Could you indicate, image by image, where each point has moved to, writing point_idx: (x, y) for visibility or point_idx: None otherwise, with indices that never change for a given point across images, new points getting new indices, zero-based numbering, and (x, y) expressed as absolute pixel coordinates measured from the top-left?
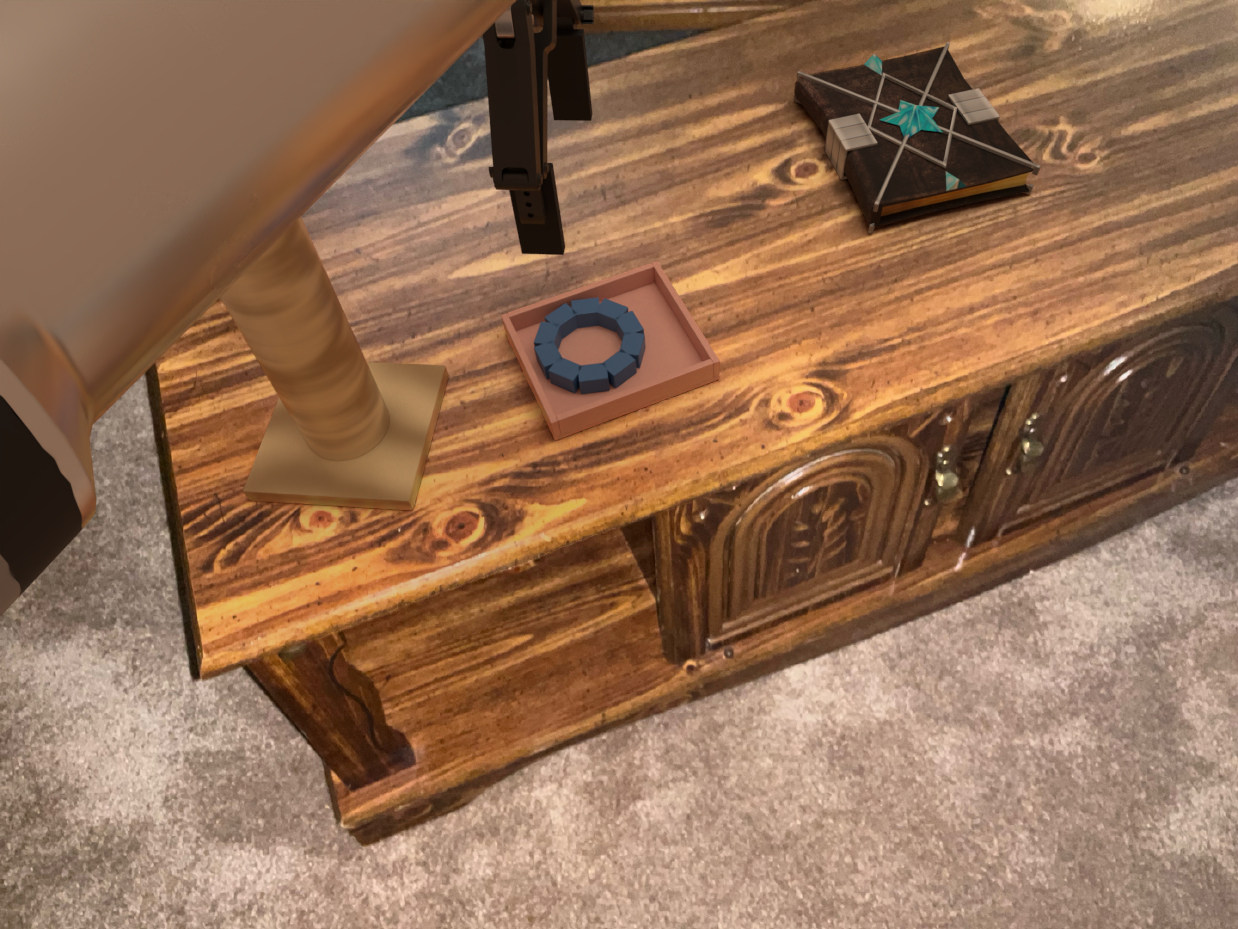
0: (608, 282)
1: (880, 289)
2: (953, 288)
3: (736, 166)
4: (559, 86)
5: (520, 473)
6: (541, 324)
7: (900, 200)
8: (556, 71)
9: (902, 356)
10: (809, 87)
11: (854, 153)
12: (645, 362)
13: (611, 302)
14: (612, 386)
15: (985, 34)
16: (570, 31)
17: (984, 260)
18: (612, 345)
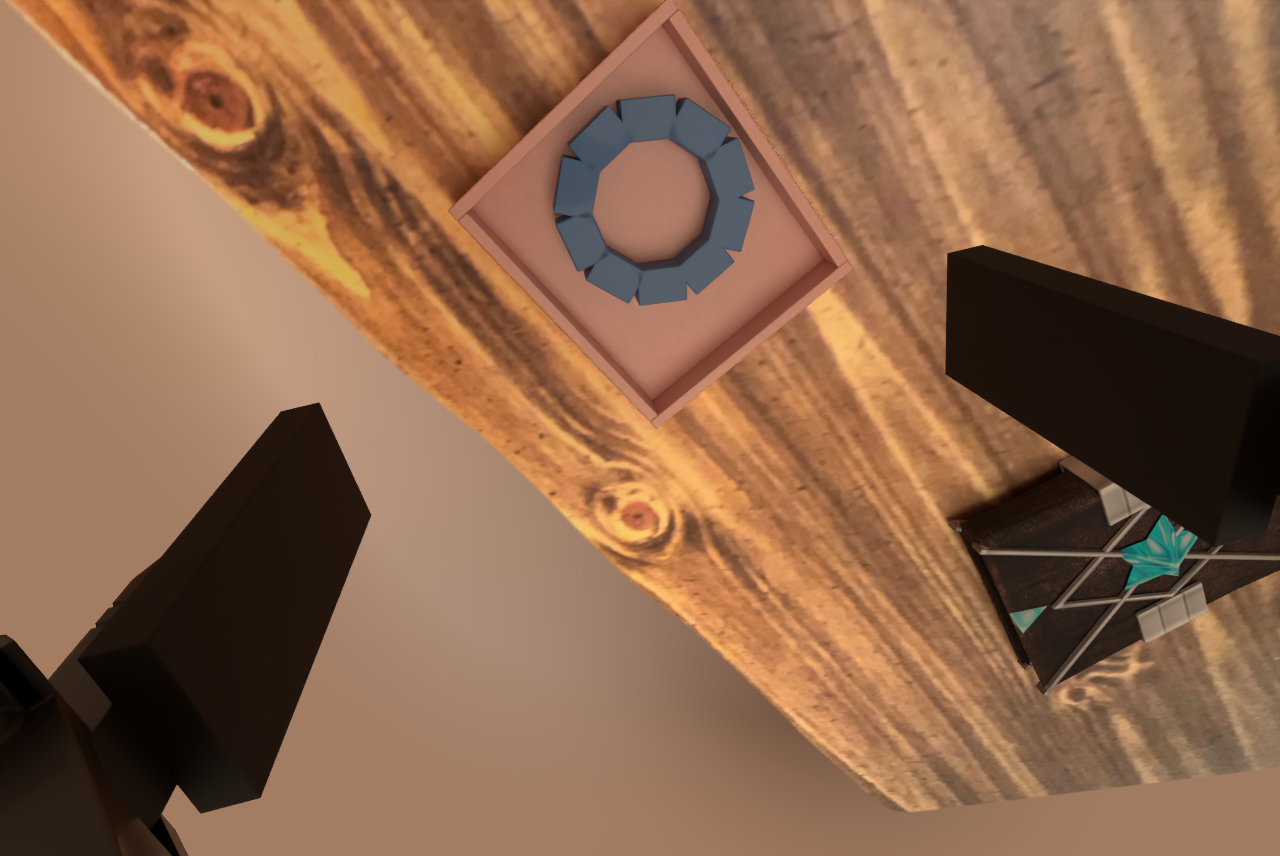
0: (790, 198)
1: (848, 553)
2: (858, 621)
3: None
4: (1033, 328)
5: (367, 168)
6: (667, 99)
7: (990, 572)
8: (1084, 344)
9: (740, 598)
10: None
11: (1091, 499)
12: None
13: (746, 218)
14: None
15: None
16: (1261, 484)
17: (907, 640)
18: (672, 234)
